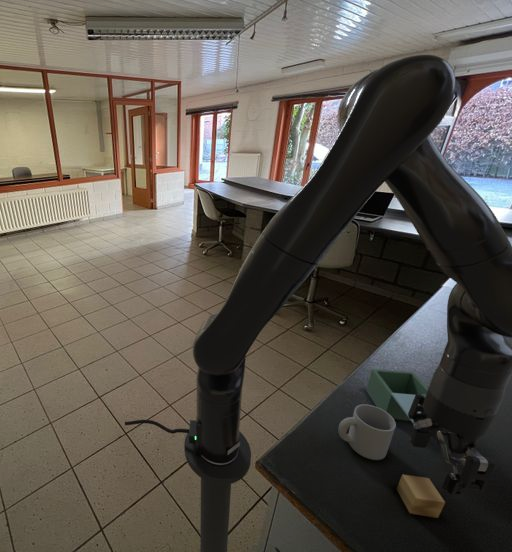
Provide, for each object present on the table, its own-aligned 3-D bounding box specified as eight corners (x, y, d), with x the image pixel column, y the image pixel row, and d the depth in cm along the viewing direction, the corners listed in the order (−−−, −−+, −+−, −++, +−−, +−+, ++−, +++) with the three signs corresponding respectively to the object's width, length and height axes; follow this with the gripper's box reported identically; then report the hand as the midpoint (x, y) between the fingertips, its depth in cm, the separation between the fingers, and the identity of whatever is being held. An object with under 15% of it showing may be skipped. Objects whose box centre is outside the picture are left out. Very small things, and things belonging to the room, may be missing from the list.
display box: (384, 418, 74) (391, 394, 71) (366, 390, 83) (371, 368, 80) (429, 422, 72) (438, 399, 69) (405, 394, 81) (413, 371, 78)
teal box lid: (417, 429, 62) (424, 409, 60) (391, 394, 71) (396, 376, 69) (475, 435, 60) (484, 415, 58) (440, 398, 69) (447, 380, 67)
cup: (393, 463, 63) (404, 433, 60) (341, 457, 65) (349, 427, 62) (375, 434, 70) (384, 405, 67) (329, 430, 72) (335, 401, 69)
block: (409, 513, 55) (416, 498, 53) (396, 489, 59) (402, 474, 57) (438, 518, 54) (445, 502, 52) (422, 493, 58) (428, 478, 56)
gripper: (407, 365, 54) (387, 430, 60) (468, 431, 41) (435, 506, 47) (456, 368, 52) (431, 435, 58) (537, 438, 39) (493, 515, 45)
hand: (433, 467), depth 52 cm, fingers open, 8 cm apart
